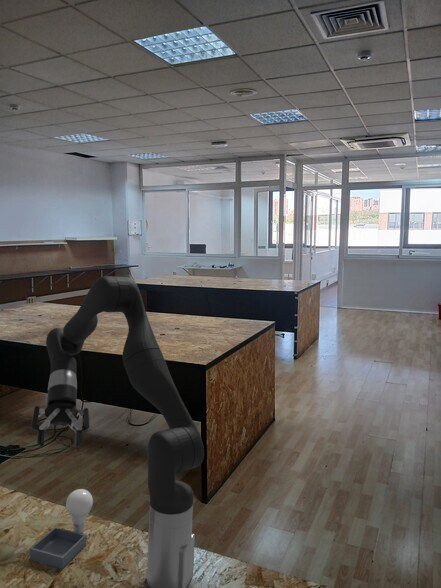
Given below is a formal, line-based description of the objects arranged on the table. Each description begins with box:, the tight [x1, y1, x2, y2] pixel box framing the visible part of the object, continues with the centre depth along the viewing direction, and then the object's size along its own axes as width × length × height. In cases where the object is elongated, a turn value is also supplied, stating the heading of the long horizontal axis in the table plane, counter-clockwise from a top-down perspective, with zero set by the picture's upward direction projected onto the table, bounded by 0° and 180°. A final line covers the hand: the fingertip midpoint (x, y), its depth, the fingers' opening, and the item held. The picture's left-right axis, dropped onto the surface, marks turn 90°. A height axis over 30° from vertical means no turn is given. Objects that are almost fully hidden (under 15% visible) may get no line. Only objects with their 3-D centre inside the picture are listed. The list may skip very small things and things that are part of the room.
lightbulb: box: [65, 488, 94, 534], centre depth 110 cm, size 6×6×11 cm
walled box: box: [29, 526, 87, 570], centre depth 103 cm, size 9×9×3 cm
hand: (59, 446), depth 113 cm, fingers open, 8 cm apart
